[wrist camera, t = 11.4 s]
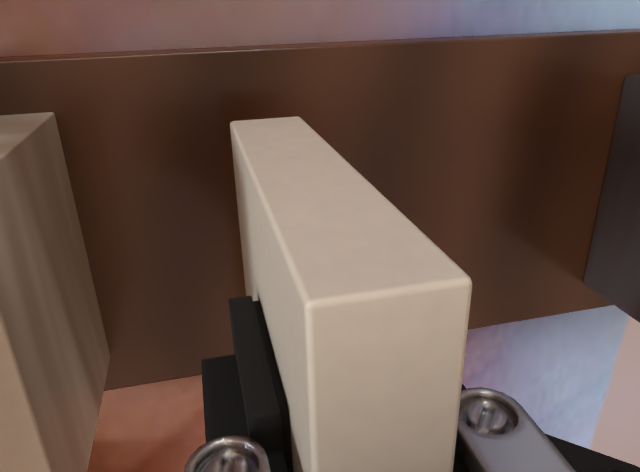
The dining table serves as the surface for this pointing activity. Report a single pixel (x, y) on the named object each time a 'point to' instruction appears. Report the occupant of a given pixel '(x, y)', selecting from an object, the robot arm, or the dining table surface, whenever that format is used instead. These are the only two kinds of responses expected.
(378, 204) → the beige book
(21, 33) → the dining table surface
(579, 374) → the dining table surface
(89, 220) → the book rack
